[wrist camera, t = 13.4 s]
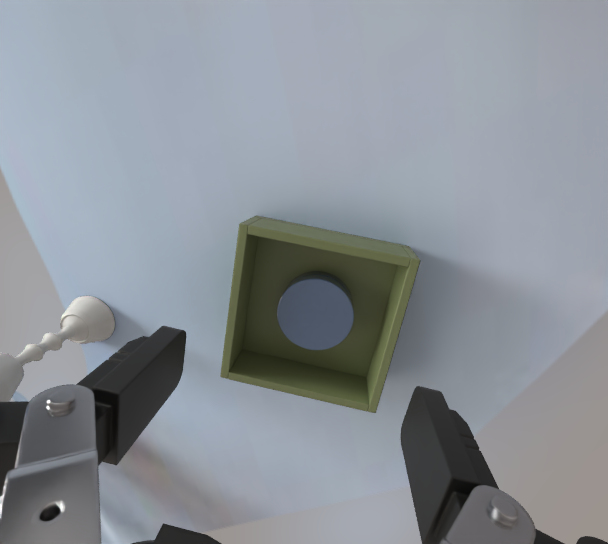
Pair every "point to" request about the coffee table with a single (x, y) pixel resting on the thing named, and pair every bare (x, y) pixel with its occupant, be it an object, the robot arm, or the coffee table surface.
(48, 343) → the chalice
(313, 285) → the blue round puck
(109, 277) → the coffee table surface
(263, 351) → the tub
